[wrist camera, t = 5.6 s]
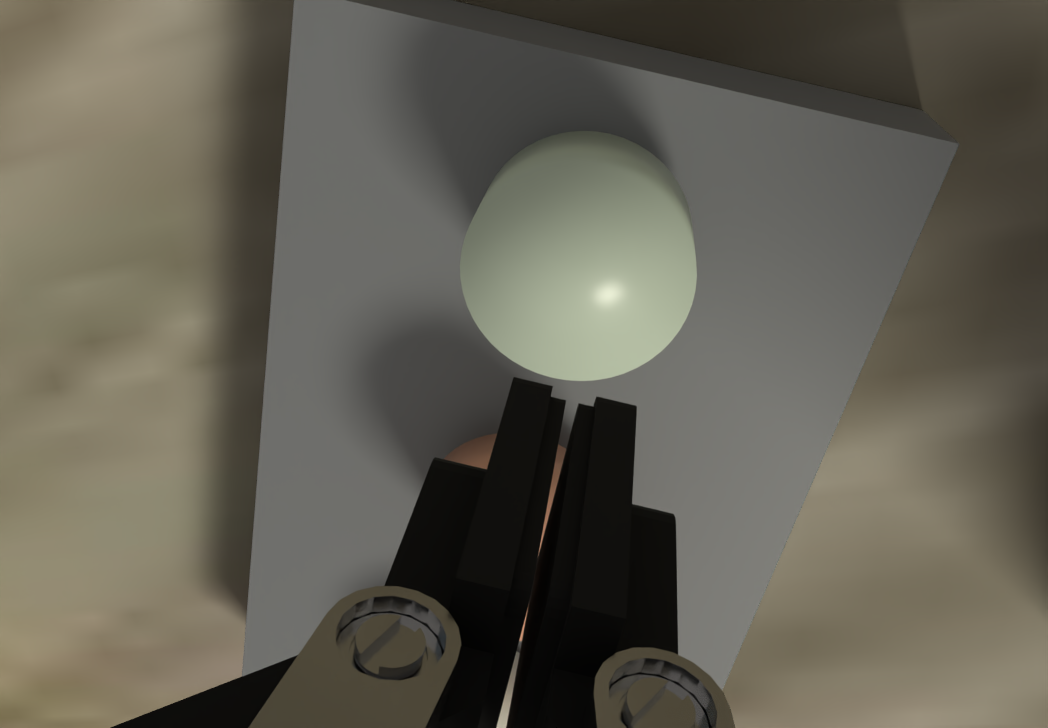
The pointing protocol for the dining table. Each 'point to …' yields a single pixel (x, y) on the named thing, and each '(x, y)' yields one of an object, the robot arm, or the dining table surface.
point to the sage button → (580, 257)
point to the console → (486, 374)
